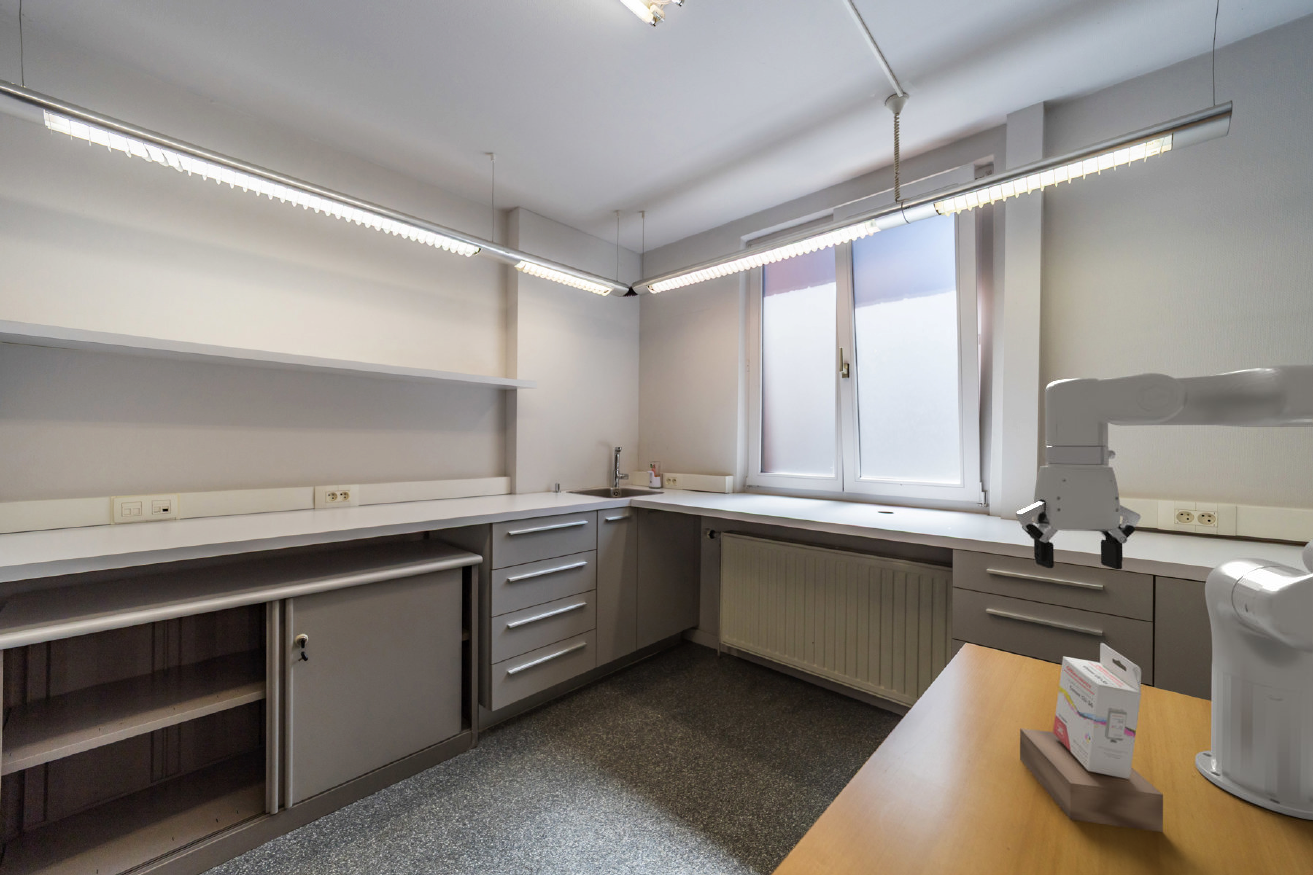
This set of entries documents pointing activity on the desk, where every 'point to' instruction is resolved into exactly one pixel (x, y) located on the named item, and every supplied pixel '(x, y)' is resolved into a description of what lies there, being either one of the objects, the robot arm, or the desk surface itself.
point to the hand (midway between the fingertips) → (1077, 566)
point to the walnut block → (1090, 786)
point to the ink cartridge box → (1099, 711)
